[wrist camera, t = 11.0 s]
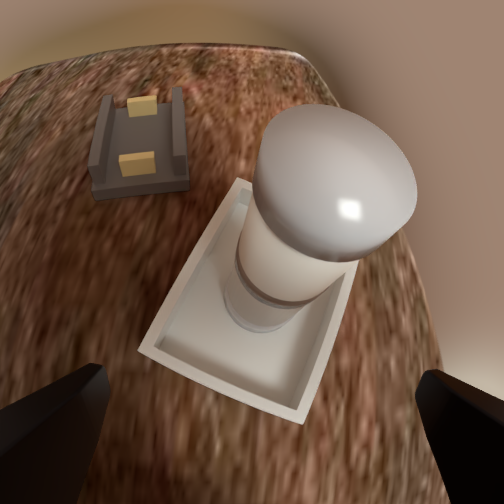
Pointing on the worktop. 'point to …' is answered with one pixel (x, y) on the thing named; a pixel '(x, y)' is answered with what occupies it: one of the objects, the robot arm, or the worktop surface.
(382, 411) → the worktop surface
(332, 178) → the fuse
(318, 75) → the worktop surface
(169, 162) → the fuse holder
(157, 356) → the parts tray
